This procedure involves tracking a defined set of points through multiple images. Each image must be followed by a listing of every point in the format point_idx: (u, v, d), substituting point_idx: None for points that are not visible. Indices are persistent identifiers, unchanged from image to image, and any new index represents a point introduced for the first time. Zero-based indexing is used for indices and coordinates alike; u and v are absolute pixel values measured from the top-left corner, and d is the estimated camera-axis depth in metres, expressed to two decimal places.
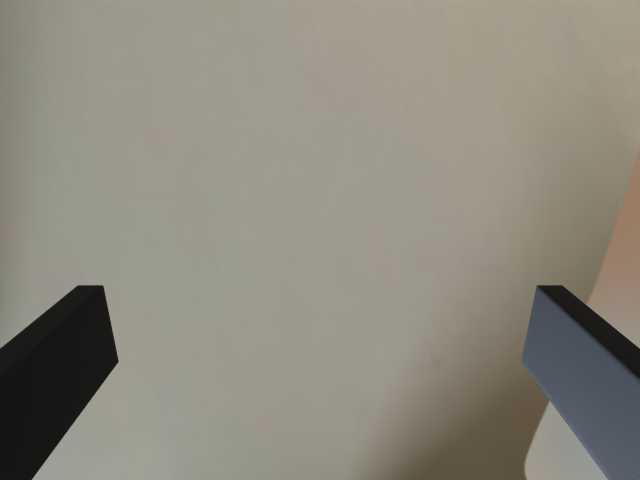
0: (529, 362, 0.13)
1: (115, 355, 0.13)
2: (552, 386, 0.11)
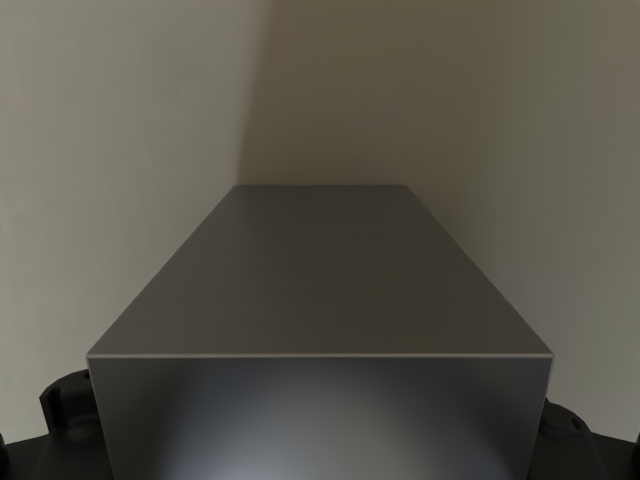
0: None
1: None
2: None
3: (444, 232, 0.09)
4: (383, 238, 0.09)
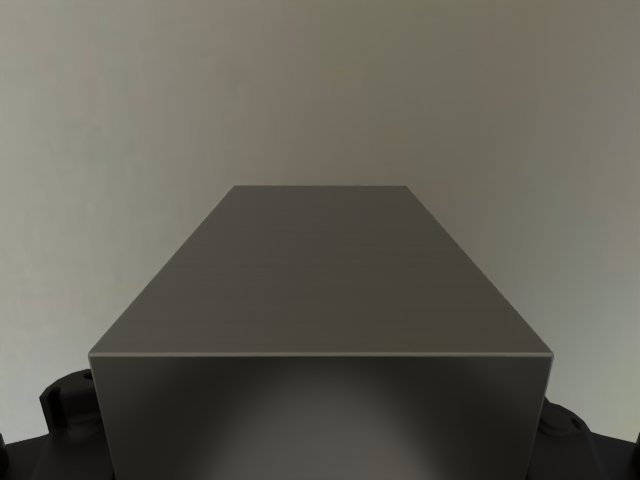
0: None
1: None
2: None
3: (444, 232, 0.09)
4: (383, 237, 0.09)
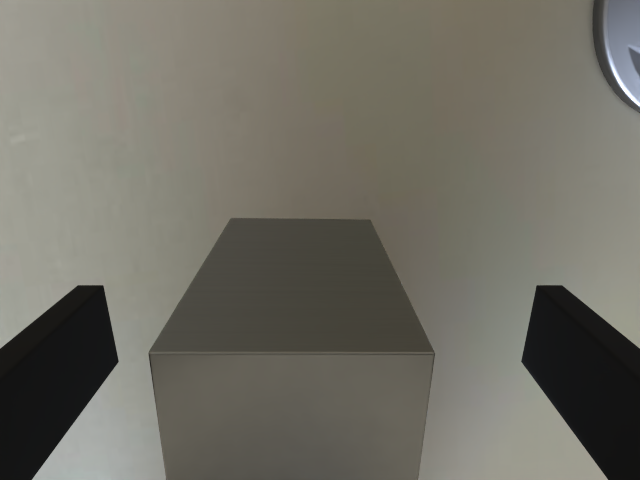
0: (529, 362, 0.13)
1: (115, 355, 0.13)
2: (552, 386, 0.11)
3: (390, 264, 0.13)
4: (344, 269, 0.12)
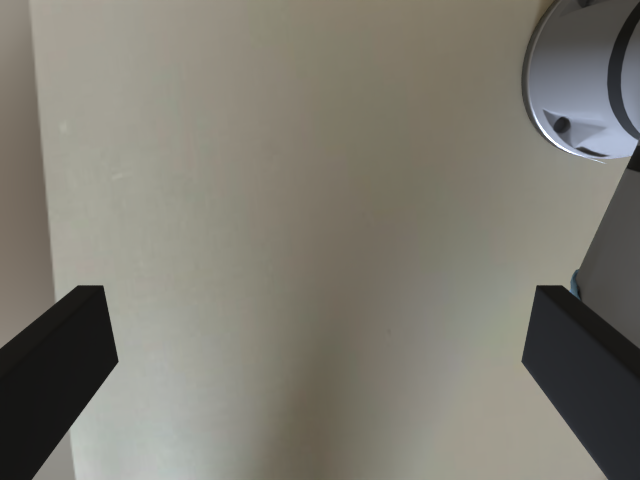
0: (529, 362, 0.13)
1: (115, 355, 0.13)
2: (552, 386, 0.11)
3: None
4: None
